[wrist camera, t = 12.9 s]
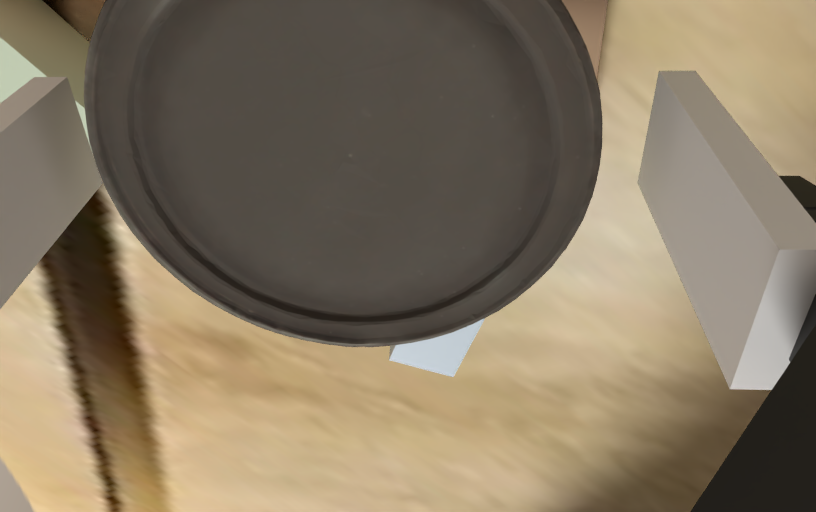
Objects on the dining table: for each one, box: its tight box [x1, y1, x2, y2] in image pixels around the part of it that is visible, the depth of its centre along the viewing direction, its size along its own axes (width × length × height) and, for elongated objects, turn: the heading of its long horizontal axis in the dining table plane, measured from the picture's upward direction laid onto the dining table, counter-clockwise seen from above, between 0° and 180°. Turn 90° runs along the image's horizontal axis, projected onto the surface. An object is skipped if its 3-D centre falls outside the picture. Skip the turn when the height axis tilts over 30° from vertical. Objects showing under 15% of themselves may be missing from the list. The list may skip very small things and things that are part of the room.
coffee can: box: [84, 0, 602, 347], centre depth 19 cm, size 10×10×14 cm
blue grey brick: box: [389, 318, 485, 377], centre depth 35 cm, size 7×4×4 cm, turn 162°
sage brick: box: [0, 0, 93, 153], centre depth 29 cm, size 7×4×4 cm, turn 40°
